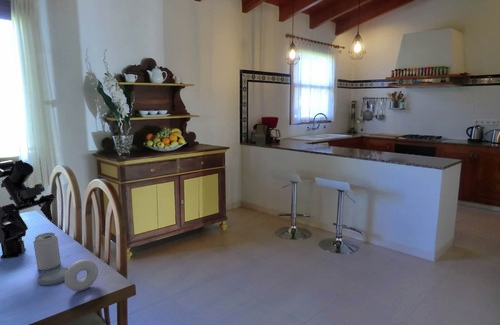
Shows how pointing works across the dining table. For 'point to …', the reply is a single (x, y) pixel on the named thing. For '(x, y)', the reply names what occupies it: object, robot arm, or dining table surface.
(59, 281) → the dish
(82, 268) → the donut
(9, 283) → the dining table surface
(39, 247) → the can
